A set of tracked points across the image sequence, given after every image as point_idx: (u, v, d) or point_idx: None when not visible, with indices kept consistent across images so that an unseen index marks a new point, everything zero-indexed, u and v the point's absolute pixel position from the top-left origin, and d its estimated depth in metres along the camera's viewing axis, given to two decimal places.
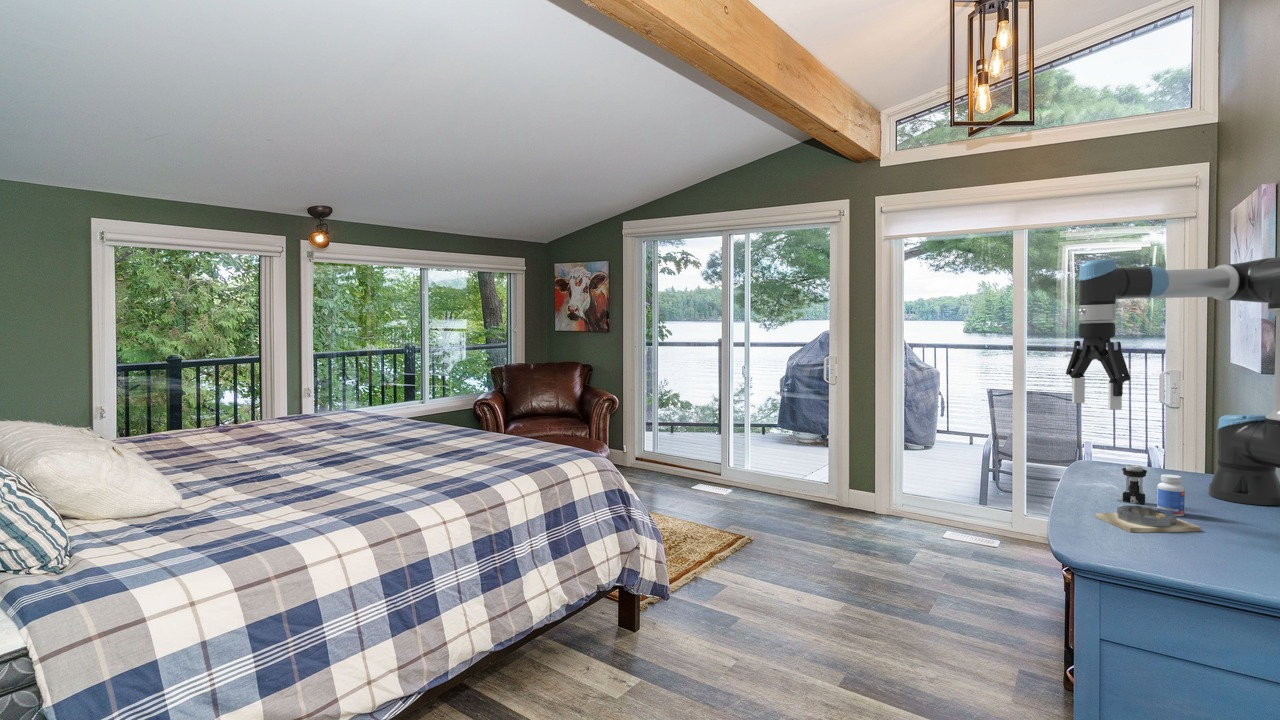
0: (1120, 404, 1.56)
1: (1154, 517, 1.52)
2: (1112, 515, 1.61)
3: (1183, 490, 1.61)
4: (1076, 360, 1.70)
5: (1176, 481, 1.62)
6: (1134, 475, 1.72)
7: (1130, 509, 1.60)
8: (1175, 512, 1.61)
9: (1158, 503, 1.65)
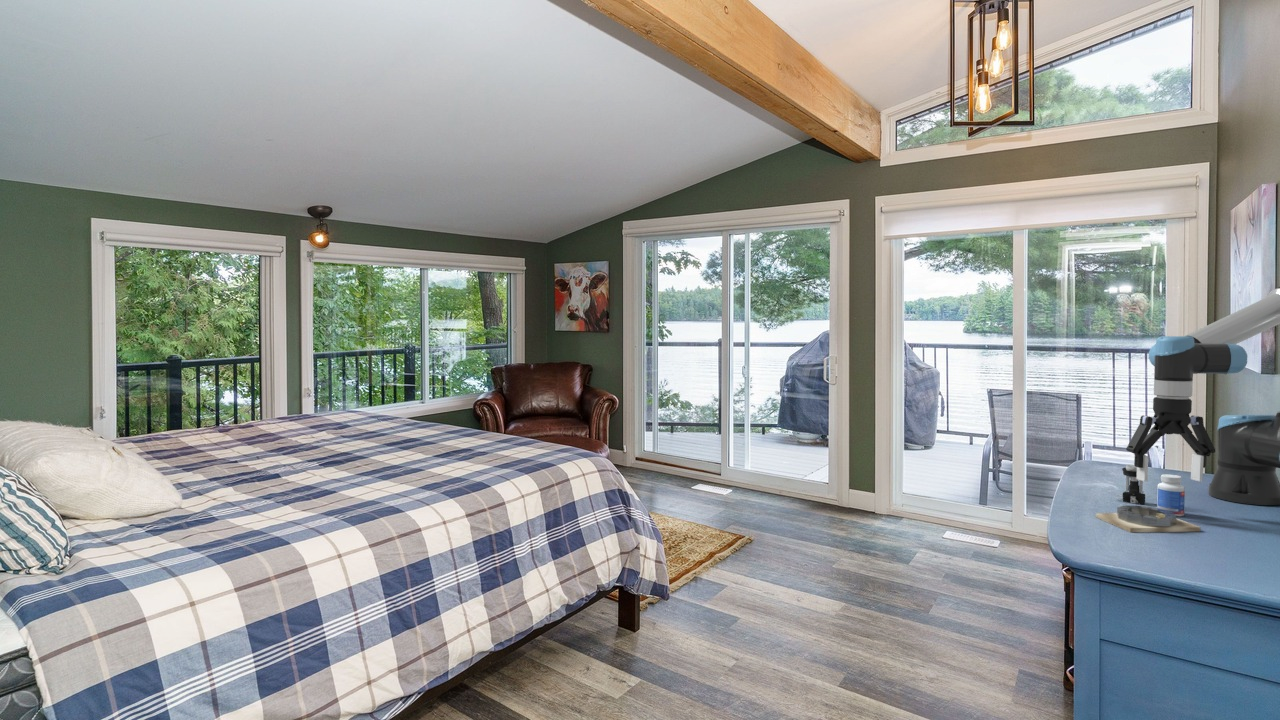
0: (1143, 476, 1.63)
1: (1154, 517, 1.52)
2: (1112, 515, 1.61)
3: (1183, 490, 1.61)
4: (1198, 436, 1.63)
5: (1176, 481, 1.62)
6: (1134, 475, 1.72)
7: (1130, 509, 1.60)
8: (1175, 512, 1.61)
9: (1158, 503, 1.65)
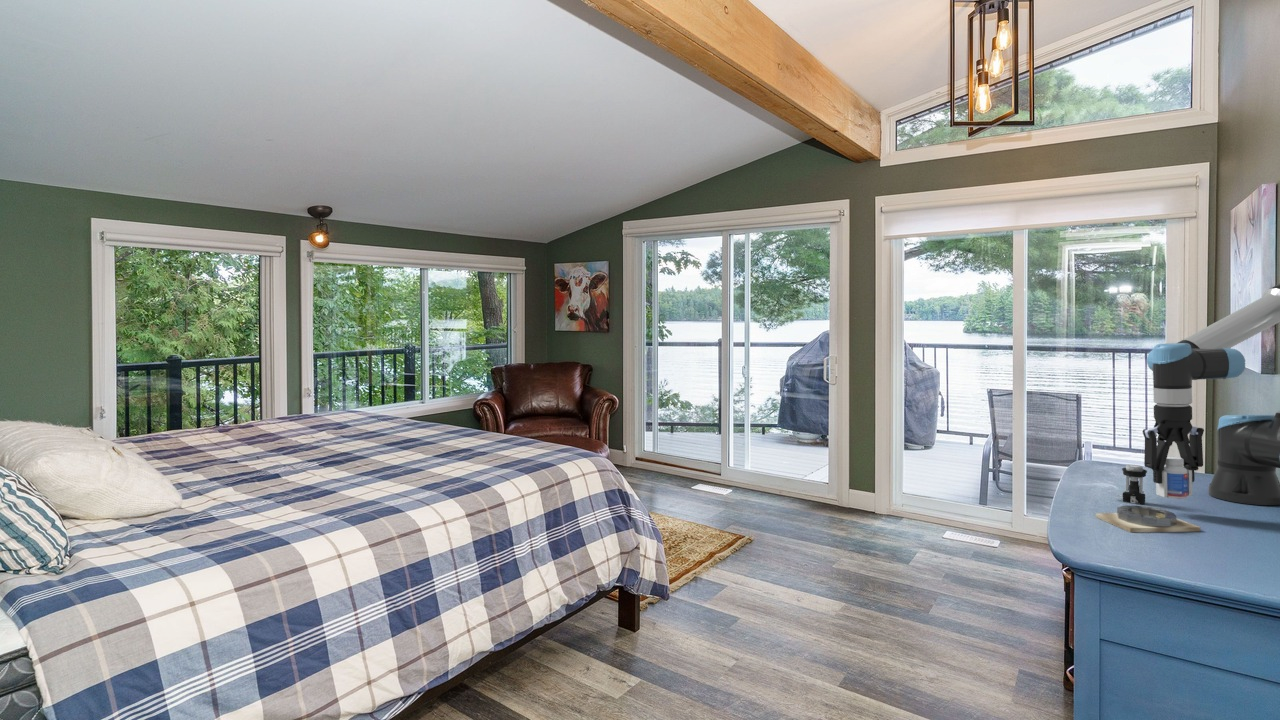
0: (1163, 492, 1.63)
1: (1154, 517, 1.52)
2: (1112, 515, 1.61)
3: (1186, 472, 1.61)
4: (1192, 447, 1.63)
5: (1178, 464, 1.62)
6: (1134, 475, 1.72)
7: (1130, 509, 1.60)
8: (1179, 494, 1.61)
9: None
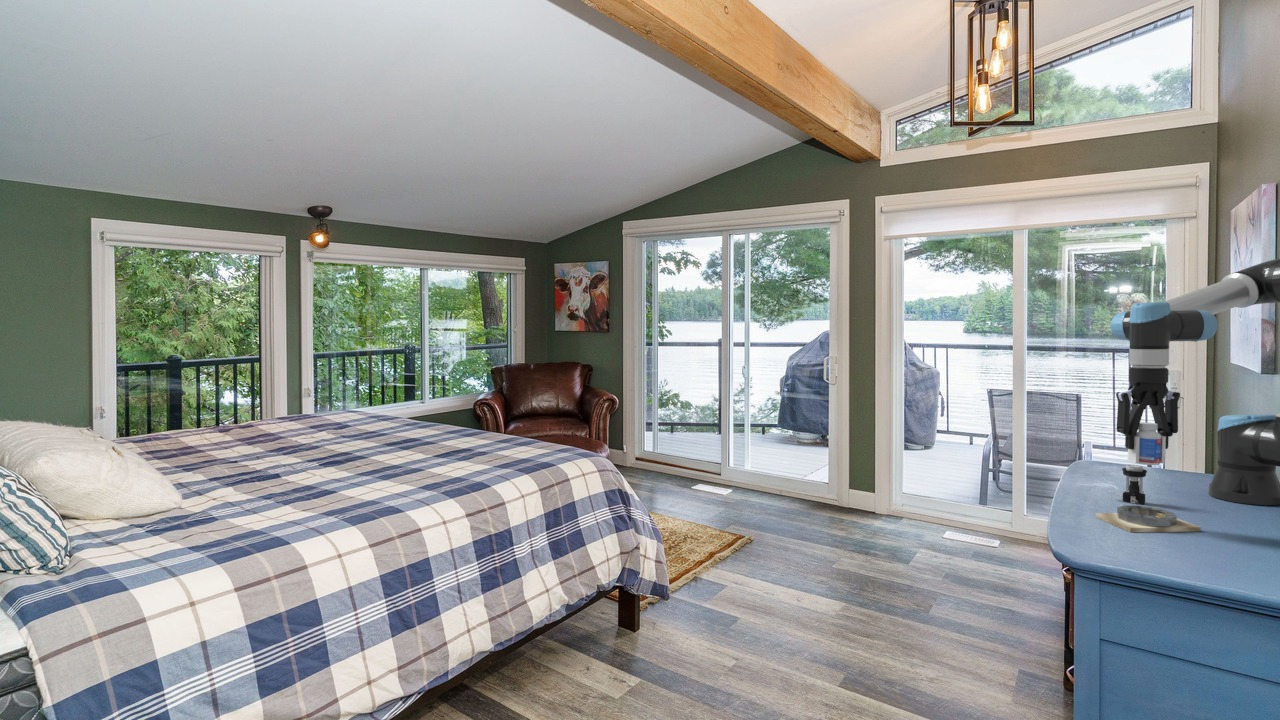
0: (1135, 458, 1.55)
1: (1154, 517, 1.52)
2: (1112, 515, 1.61)
3: (1159, 437, 1.53)
4: (1167, 413, 1.56)
5: (1151, 428, 1.54)
6: (1134, 475, 1.72)
7: (1130, 509, 1.60)
8: (1150, 461, 1.53)
9: None
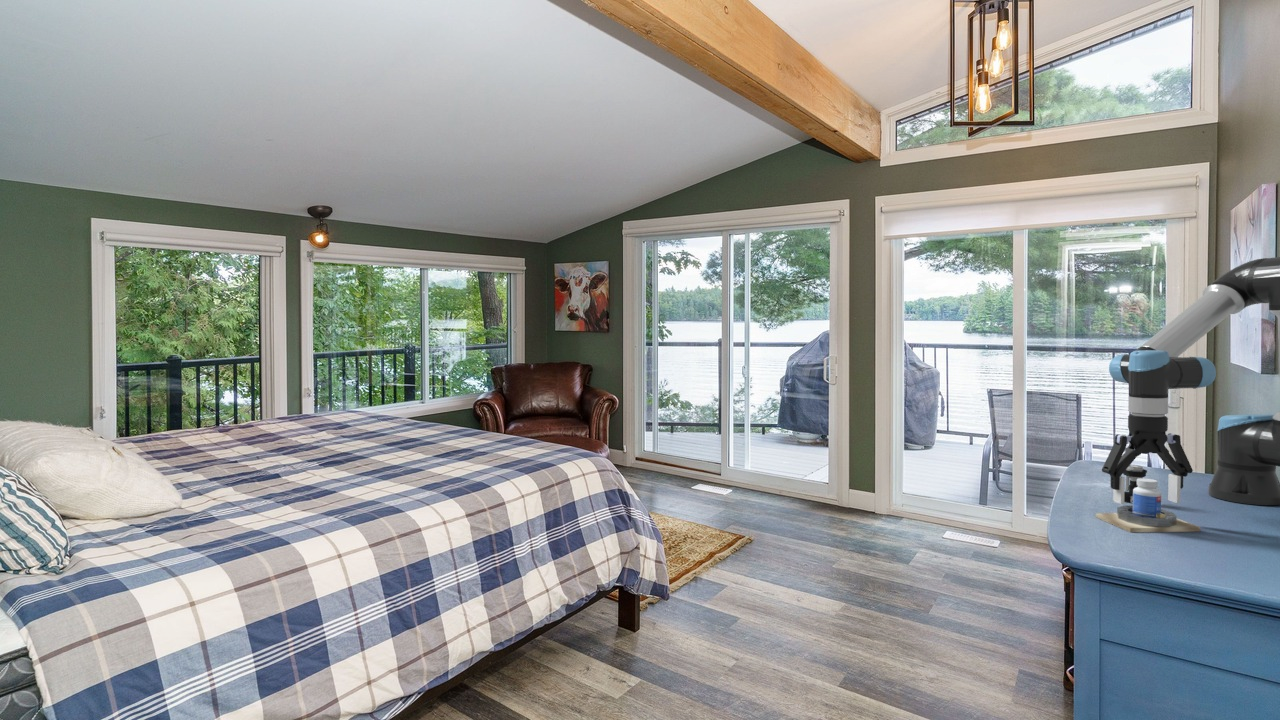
0: (1120, 498, 1.55)
1: (1154, 517, 1.52)
2: (1112, 515, 1.61)
3: (1159, 495, 1.54)
4: (1175, 455, 1.56)
5: (1151, 486, 1.54)
6: (1134, 475, 1.72)
7: (1130, 509, 1.60)
8: None
9: (1134, 508, 1.57)
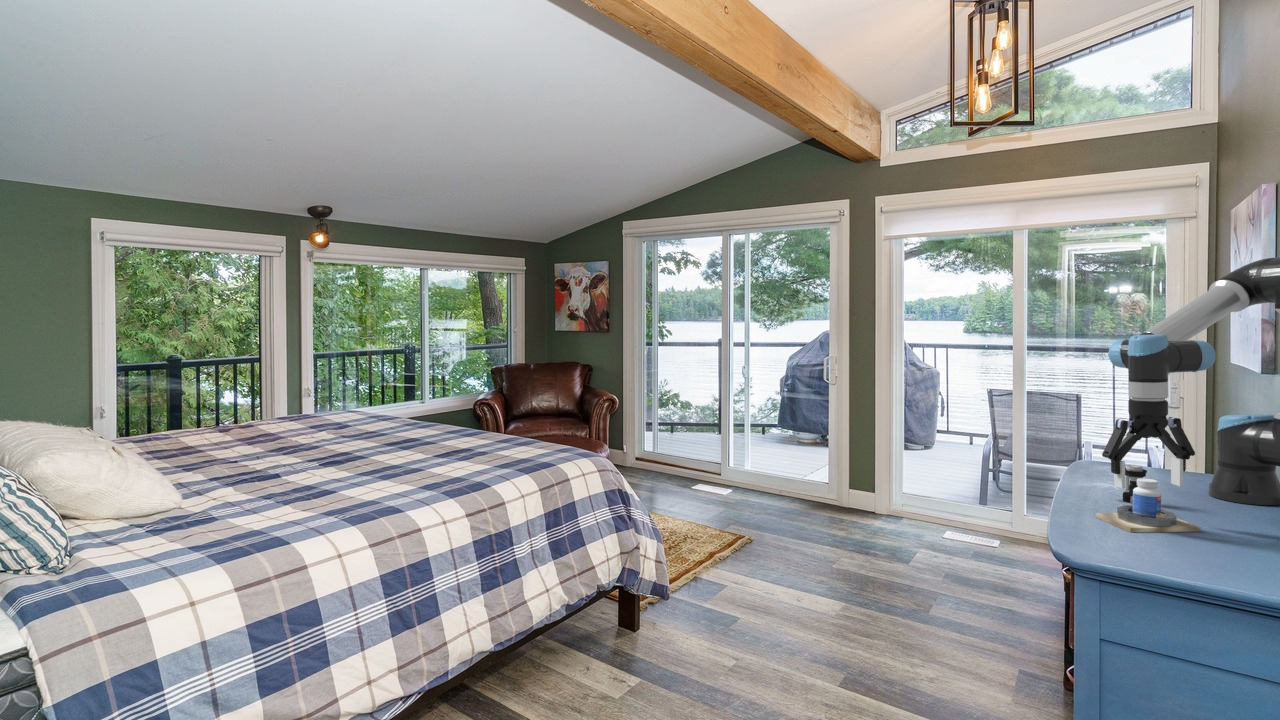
0: (1121, 483, 1.55)
1: (1154, 517, 1.52)
2: (1112, 515, 1.61)
3: (1159, 495, 1.54)
4: (1177, 438, 1.56)
5: (1152, 486, 1.54)
6: (1134, 475, 1.72)
7: (1130, 509, 1.60)
8: None
9: (1134, 508, 1.57)
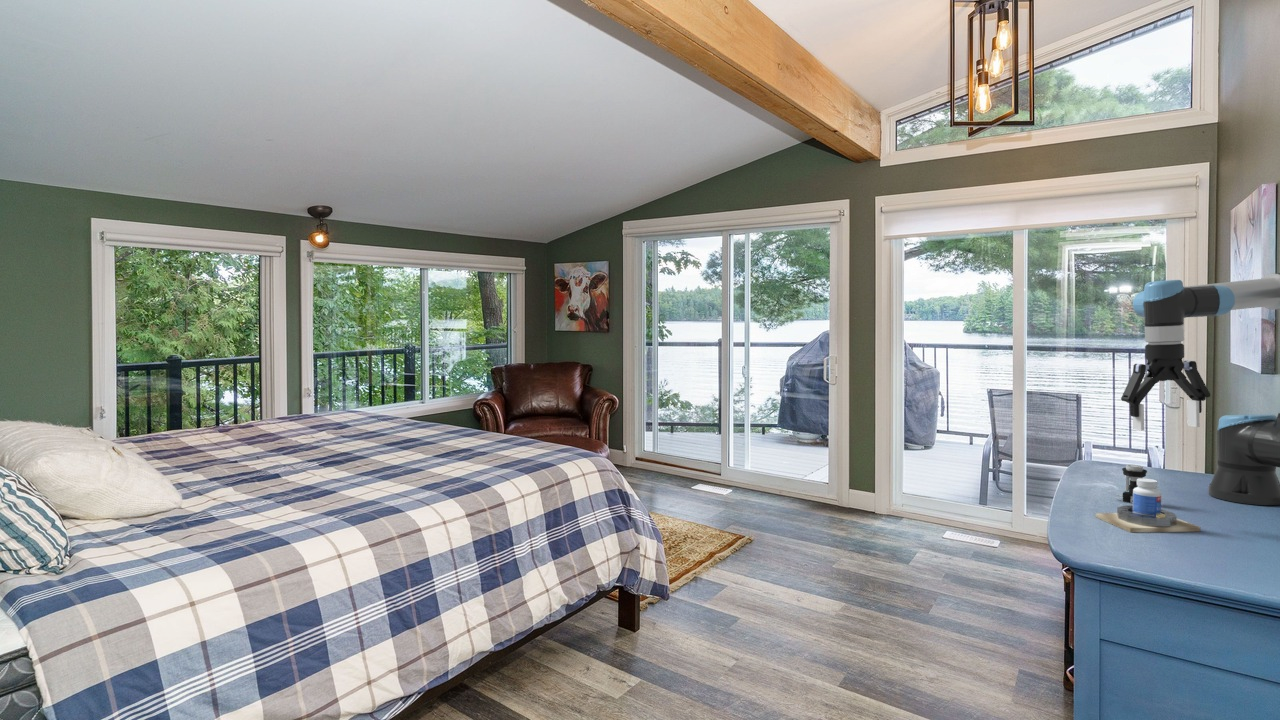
0: (1140, 425, 1.59)
1: (1154, 517, 1.52)
2: (1112, 515, 1.61)
3: (1159, 495, 1.54)
4: (1192, 381, 1.60)
5: (1151, 486, 1.54)
6: (1134, 475, 1.72)
7: (1130, 509, 1.60)
8: None
9: (1134, 508, 1.57)
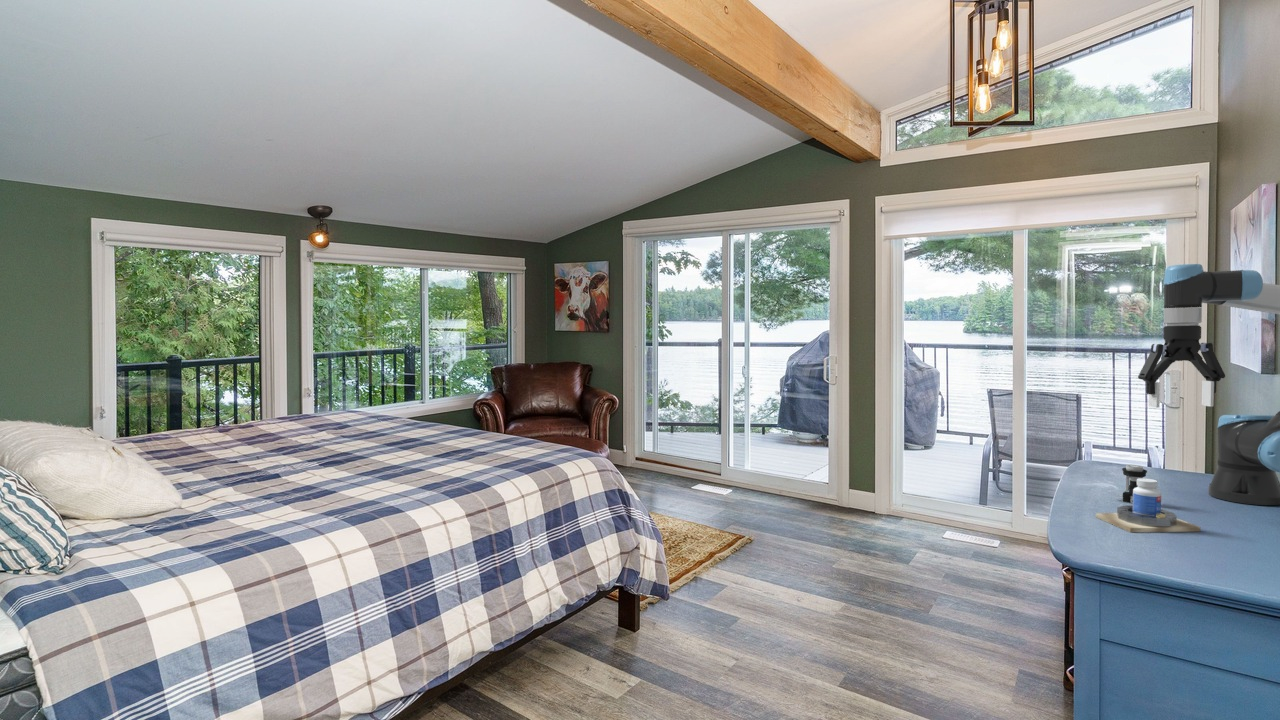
0: (1155, 402, 1.67)
1: (1154, 517, 1.52)
2: (1112, 515, 1.61)
3: (1159, 495, 1.54)
4: (1208, 362, 1.67)
5: (1151, 486, 1.54)
6: (1134, 475, 1.72)
7: (1130, 509, 1.60)
8: None
9: (1134, 508, 1.57)
